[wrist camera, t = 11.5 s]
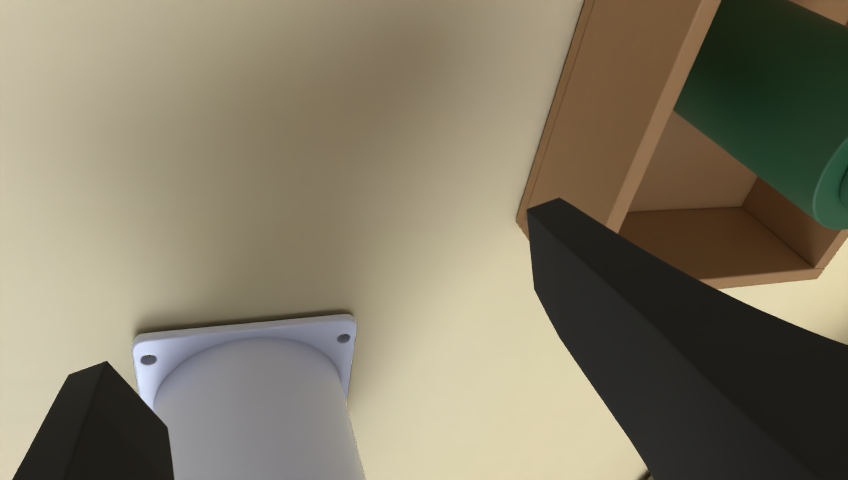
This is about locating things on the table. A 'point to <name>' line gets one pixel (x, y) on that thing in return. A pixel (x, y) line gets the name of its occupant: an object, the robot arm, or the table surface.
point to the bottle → (777, 100)
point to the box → (666, 153)
